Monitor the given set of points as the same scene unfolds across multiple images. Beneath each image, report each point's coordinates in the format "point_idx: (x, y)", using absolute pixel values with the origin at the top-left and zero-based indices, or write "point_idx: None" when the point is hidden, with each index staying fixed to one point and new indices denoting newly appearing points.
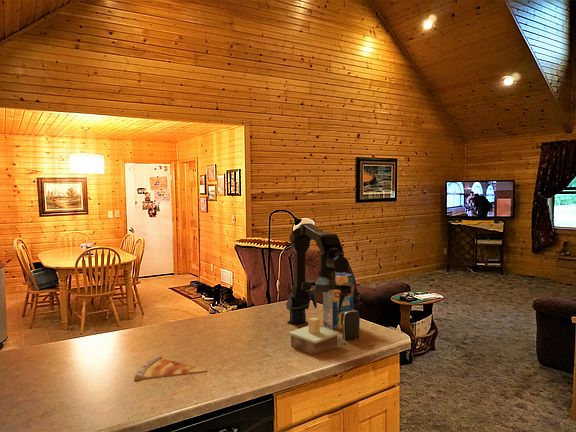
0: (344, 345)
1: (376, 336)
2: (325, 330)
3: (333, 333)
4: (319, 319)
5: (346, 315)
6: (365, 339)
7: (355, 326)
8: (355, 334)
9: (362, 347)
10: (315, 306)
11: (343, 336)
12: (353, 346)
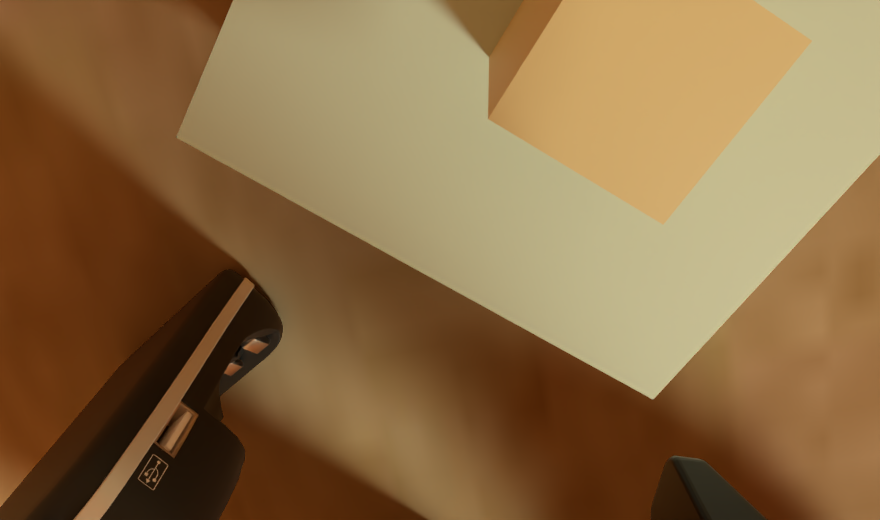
0: (220, 176)
1: (2, 470)
2: (413, 171)
3: (250, 57)
4: (500, 94)
5: (48, 497)
6: (69, 384)
7: (66, 439)
8: (118, 374)
9: (16, 164)
10: (693, 486)
11: (245, 317)
12: (117, 170)
